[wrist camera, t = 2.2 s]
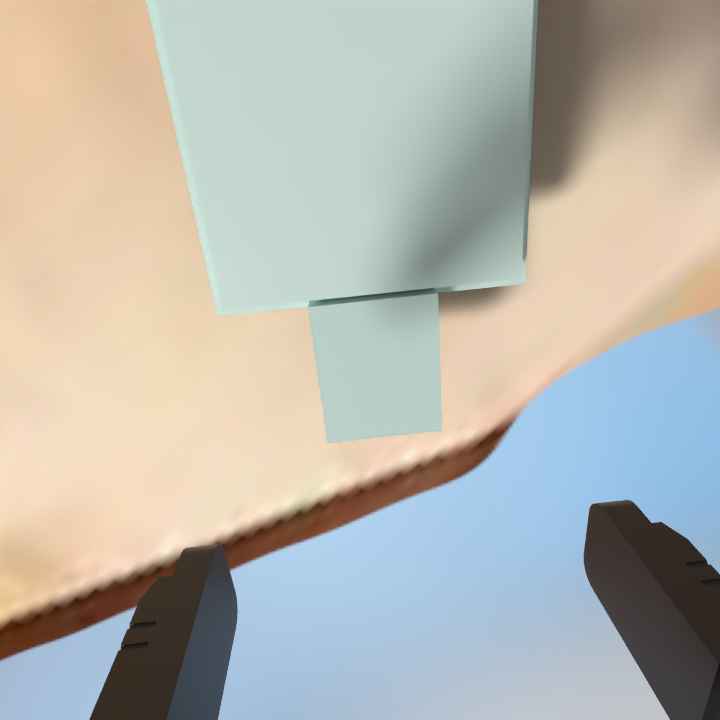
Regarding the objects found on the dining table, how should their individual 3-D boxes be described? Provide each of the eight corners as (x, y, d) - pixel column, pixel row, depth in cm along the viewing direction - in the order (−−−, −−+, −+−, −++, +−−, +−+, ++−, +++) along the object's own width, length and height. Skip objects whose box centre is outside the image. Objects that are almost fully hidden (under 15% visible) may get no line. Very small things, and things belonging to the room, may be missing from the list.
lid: (108, -220, 12) (68, -284, 10) (535, -260, 12) (571, -332, 10) (248, 423, 20) (240, 452, 18) (510, 395, 20) (528, 421, 18)
